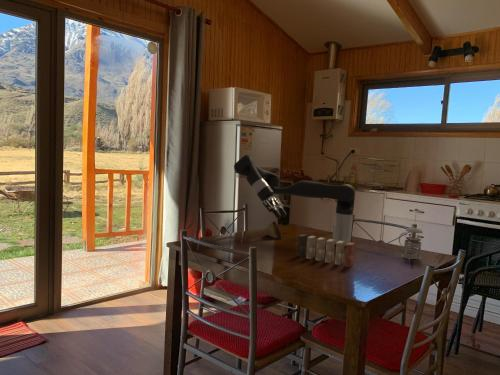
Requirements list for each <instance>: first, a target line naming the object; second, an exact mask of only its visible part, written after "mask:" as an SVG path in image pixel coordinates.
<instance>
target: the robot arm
mask: <svg viewBox="0 0 500 375" xmlns="http://www.w3.org/2000/svg"><path fill="white" fill-rule="evenodd" d="M233 168H234V171H235V172H236V173H237V174H238V175H241V176H244V177H245V176H246V182H248V184H249V185H250V187H251V188H252V190H253V191H254V193H255V194H256V196H257V197H258V198H259V200H260V201H261V202H262V205H263V206H264V207H265V208H266V209H267V211H268V212H269V213H272V214H273V215H274V216H275V217H276V219H277V220H278V219H280V218H281V217H283V218H285V217H287V213H286V211H285V209H284V207H285V206H284V204H283V203H282V202H281V200H280V199H279V197H275V196H274V195H282V196H283V195H285V196H294V197H295V196H296V197H301V198H302V197H303V198H312V199H313V198H314V199H331V200H335V201H336V208H335V220H334V225H333V227H332V236H331V239H334V240H335V245H336V243H337V242H338V241H345V247H346V246H347V244H348V243H350V242H351V239H352V230H353V229H352V227H353V218H354V216H353V215H354V208H355V198H356V190H355V188H354V186H352V185H351V184H348V183H344V184H342V185H337V184H334V185H333V184H326V183H322V182H318V181H313V180H299V181H297V182H295V183H293V184H291V185H288V186H285V187H280V181H281V179H280V177H279V176H278V174H275V173H273V172H271V171H268V170H265V169H263V168H262V167H260V166H258V165H257V164H256V163H255V160H254V159H253V157H252V156H251V155H249V154H245V155H244V156H242V157H241V158H240V159H239V160H237V161H236V162H235V163H234V165H233Z"/></svg>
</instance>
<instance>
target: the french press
mask: <svg viewBox="0 0 500 375" xmlns="http://www.w3.org/2000/svg"><path fill="white" fill-rule="evenodd" d="M414 212H419V209H418V208H415V209H414ZM416 217H417V215H415V217H414V218H415V219H414V221H416V220H417V219H416ZM405 231H406V232H405ZM405 231H403V232H402V233H401V234H400V235H399V237H398V242H399V245H400V246H401V247H402V248H403V250H402V254H401V255H402V258H403V257H405V258H404V259H406V258H409V259H408V260H410V259H421V258H422V257H421V250H422V242H421V241H422V239H421V238H418V237H414V236H415V234H423V230H422V229H419V228H418V227H416V224H414V226H413V227H408V228H405ZM407 232H409V233H412V235H413V236H407ZM403 235H405V236H406V237H405V240H404V245H402V244H401V237H402V236H403Z"/></svg>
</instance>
